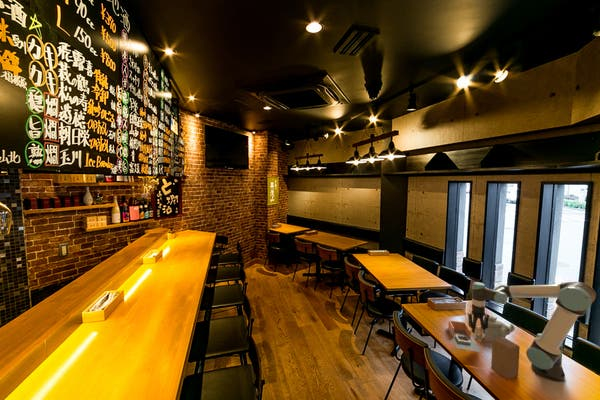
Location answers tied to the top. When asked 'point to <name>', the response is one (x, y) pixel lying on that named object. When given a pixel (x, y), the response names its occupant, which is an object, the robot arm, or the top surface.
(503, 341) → the wooden block
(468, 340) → the socket
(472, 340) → the board
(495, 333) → the teapot
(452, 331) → the housing
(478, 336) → the peg
